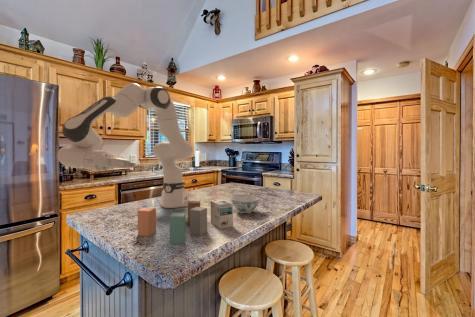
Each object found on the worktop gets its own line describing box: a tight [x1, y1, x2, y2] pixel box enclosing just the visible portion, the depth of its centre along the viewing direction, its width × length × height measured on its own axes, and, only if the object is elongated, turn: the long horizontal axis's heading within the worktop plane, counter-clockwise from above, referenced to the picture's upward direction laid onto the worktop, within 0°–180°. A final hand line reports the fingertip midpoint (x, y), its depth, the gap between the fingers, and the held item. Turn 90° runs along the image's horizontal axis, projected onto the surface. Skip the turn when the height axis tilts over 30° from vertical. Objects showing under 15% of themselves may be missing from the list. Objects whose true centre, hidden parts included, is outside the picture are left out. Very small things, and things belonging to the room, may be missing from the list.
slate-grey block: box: [189, 206, 208, 237], centre depth 97 cm, size 5×5×10 cm
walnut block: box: [187, 200, 201, 226], centre depth 109 cm, size 5×5×10 cm
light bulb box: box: [210, 198, 234, 230], centre depth 107 cm, size 11×7×11 cm, turn 30°
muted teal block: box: [169, 212, 187, 245], centre depth 88 cm, size 5×5×10 cm
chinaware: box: [231, 195, 260, 214], centre depth 128 cm, size 15×15×8 cm
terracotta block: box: [137, 206, 157, 237], centre depth 96 cm, size 5×5×10 cm
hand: (129, 164), depth 98 cm, fingers open, 8 cm apart
